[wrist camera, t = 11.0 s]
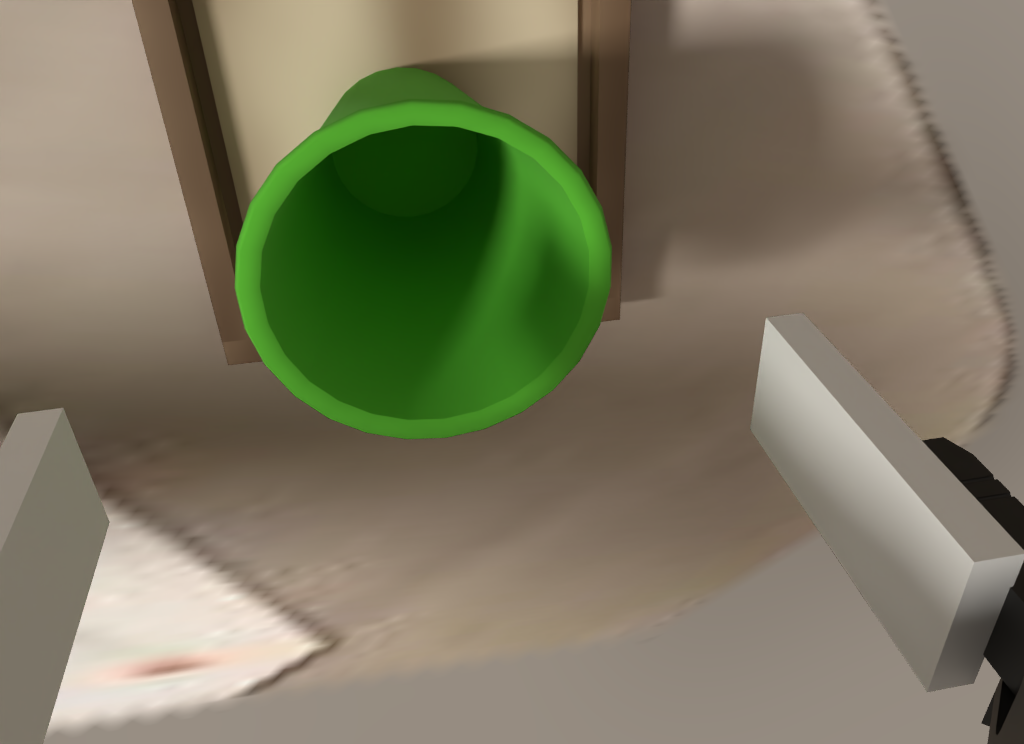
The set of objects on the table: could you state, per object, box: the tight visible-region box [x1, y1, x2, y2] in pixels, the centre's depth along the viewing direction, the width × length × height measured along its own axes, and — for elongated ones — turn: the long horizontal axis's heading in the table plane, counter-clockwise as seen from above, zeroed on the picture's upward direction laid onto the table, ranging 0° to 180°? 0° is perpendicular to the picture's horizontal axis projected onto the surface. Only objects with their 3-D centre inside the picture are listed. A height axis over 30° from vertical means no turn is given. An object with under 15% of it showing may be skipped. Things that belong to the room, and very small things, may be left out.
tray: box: [132, 0, 631, 365], centre depth 30 cm, size 15×15×2 cm
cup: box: [235, 67, 612, 439], centre depth 25 cm, size 9×9×11 cm
